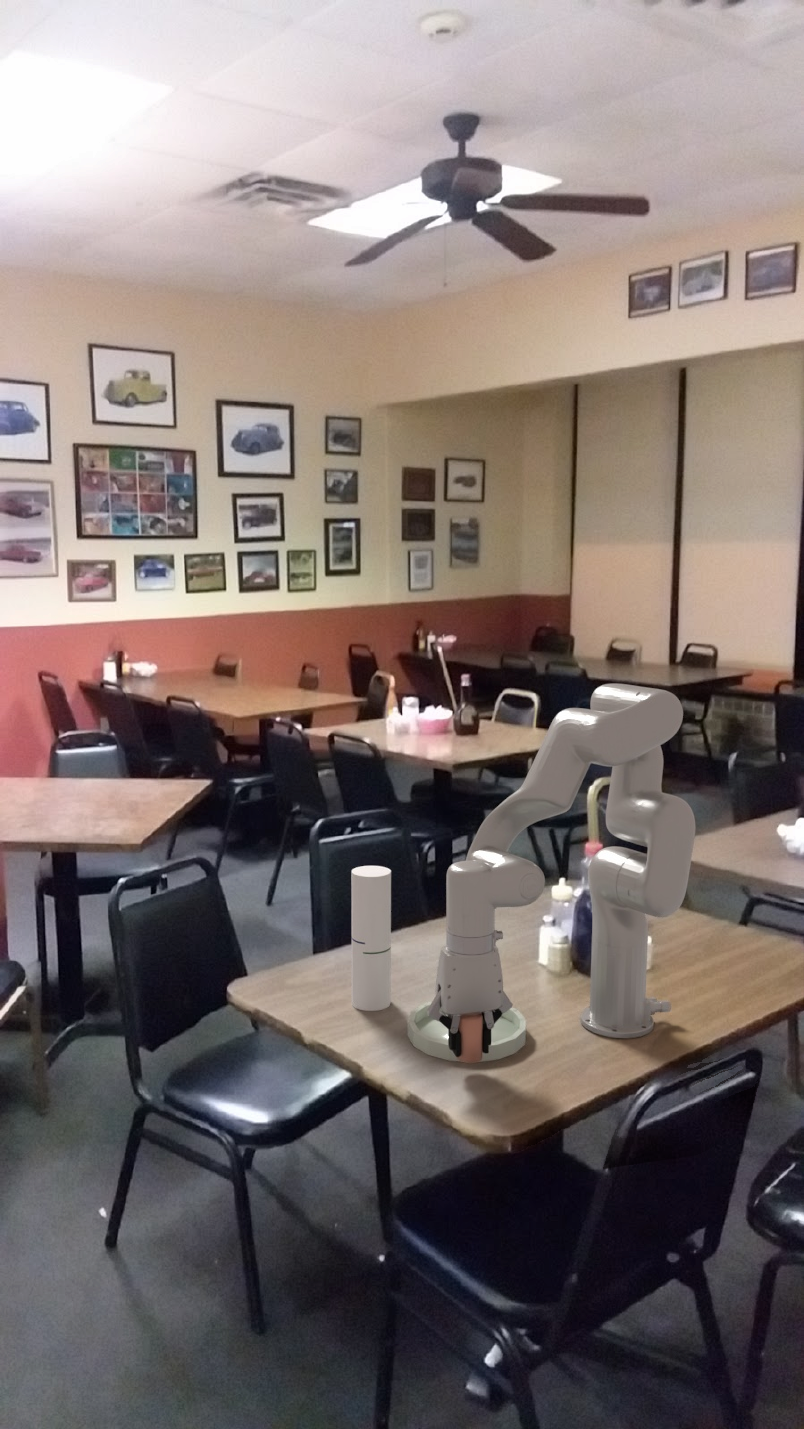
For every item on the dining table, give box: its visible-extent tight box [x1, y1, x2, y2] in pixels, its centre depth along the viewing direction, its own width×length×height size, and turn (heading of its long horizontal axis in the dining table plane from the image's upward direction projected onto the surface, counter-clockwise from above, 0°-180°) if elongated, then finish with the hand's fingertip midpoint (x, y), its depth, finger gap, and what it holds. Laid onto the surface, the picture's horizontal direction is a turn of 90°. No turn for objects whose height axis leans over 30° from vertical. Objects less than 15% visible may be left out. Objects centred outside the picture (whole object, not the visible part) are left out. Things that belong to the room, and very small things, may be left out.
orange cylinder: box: [457, 1012, 483, 1064], centre depth 169 cm, size 4×4×7 cm
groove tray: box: [407, 1000, 527, 1063], centre depth 183 cm, size 20×20×3 cm
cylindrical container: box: [350, 865, 392, 1012], centre depth 194 cm, size 7×7×25 cm
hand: (469, 1050), depth 169 cm, fingers closed on orange cylinder, 3 cm apart
